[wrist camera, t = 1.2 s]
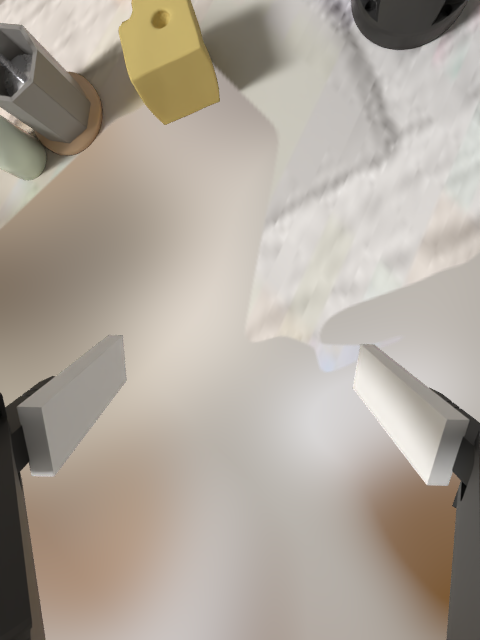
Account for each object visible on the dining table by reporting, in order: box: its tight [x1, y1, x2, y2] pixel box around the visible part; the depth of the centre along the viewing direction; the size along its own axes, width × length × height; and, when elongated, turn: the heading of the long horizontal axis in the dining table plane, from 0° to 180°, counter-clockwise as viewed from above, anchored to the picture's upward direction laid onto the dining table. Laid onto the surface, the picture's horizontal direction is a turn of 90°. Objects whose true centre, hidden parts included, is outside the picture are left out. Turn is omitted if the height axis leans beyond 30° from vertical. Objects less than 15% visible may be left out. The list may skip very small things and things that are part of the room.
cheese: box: [119, 0, 220, 125], centre depth 40 cm, size 10×11×10 cm
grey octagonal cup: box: [0, 23, 102, 156], centre depth 43 cm, size 13×13×11 cm
